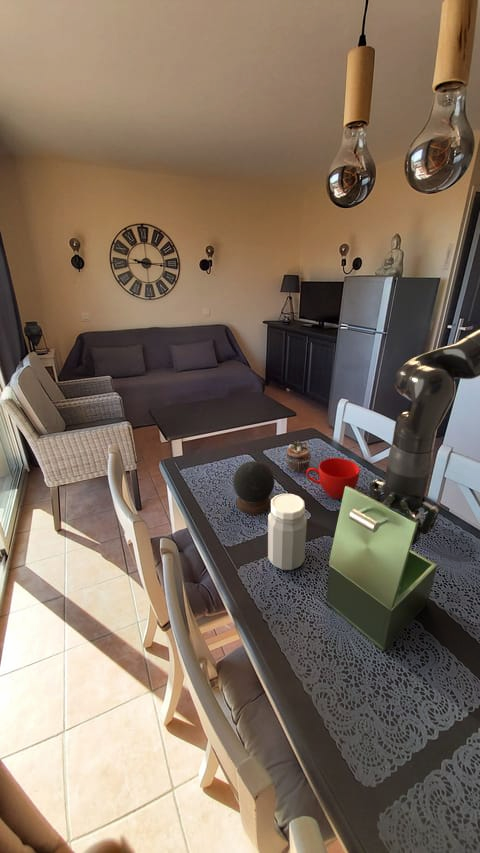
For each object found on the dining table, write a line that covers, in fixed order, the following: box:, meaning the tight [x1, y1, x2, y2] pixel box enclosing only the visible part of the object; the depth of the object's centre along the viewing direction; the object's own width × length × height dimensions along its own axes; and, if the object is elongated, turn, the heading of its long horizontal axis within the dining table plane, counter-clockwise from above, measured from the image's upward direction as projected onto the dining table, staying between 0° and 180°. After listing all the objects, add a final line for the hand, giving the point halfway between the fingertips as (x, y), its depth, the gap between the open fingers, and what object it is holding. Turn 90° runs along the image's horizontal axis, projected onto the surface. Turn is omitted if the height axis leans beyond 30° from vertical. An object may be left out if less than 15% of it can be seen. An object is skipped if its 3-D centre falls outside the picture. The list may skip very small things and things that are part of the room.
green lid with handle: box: [328, 486, 418, 609], centre depth 68 cm, size 19×15×5 cm
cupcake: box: [285, 440, 312, 473], centre depth 136 cm, size 10×10×10 cm
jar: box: [267, 493, 308, 571], centre depth 92 cm, size 10×10×18 cm
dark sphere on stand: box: [232, 460, 275, 515], centre depth 115 cm, size 13×13×15 cm
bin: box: [325, 549, 438, 653], centre depth 80 cm, size 18×15×12 cm
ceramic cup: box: [305, 457, 361, 500], centre depth 120 cm, size 13×17×10 cm
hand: (395, 534), depth 76 cm, fingers closed on lollipop, 6 cm apart
